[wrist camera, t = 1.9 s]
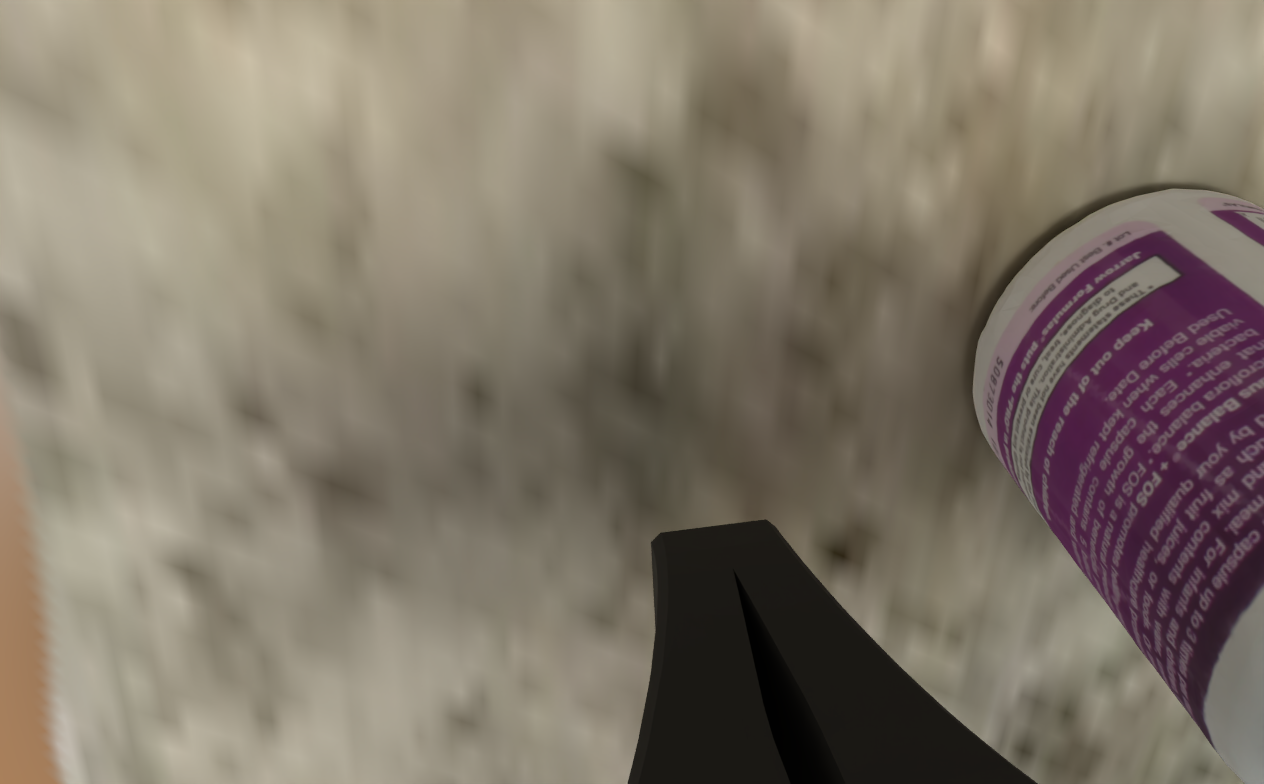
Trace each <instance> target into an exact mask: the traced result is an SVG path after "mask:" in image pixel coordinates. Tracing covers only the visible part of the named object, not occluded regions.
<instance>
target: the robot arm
mask: <svg viewBox="0 0 1264 784" xmlns="http://www.w3.org/2000/svg"><path fill="white" fill-rule="evenodd" d="M651 549H652V568H653V588H654V607H655V626H656V633H655V642H654V651H653V659H652V668H651V675H650V682H649V688H648V693H647V698H646V703H645V708H644V713H643V719H642V724H641V729H640V734H639V739H638V743H637V748H636V752H635V756H634V760H633V764H632V768H631V772H630V776H629V780H628V784H1038V783H1036V782H1035V781H1034V780H1032V779H1031V778H1030V777H1028V776H1027V775H1026V774H1024V773H1023V772H1022V771H1020V770H1019V769H1018V768H1016V767H1015V766H1014V765H1012V764H1011V763H1010V762H1009V761H1007V760H1006V759H1005V758H1004V757H1002V756H1001V755H1000V754H999V753H997V752H996V751H995V750H994V749H992V748H991V747H990V746H989V745H987V744H986V743H985V742H984V741H982V740H981V739H980V738H979V737H977V736H976V735H975V734H974V733H973V732H971V731H970V730H969V729H968V728H967V727H966V726H964V725H963V724H962V723H961V722H960V721H959V720H957V719H956V718H955V717H954V716H953V715H952V714H951V713H949V712H948V711H947V710H946V709H945V708H944V707H943V706H942V705H940V704H939V703H938V702H937V701H936V700H935V699H934V698H933V697H932V696H931V695H930V694H929V693H927V692H926V691H925V690H924V689H923V688H922V687H921V686H920V685H919V684H918V683H917V682H916V681H915V680H913V679H912V678H911V677H910V676H909V675H908V674H907V673H906V672H905V671H904V670H903V669H902V668H901V667H900V666H899V665H898V664H897V663H896V662H895V661H894V660H893V659H892V658H891V657H890V656H889V655H888V654H887V653H886V652H885V651H884V650H883V649H882V648H881V647H880V646H879V645H878V644H877V643H876V642H875V641H874V640H873V639H872V638H871V637H870V636H869V635H868V634H867V633H866V632H865V630H864V629H863V628H862V627H861V626H860V625H859V624H858V623H857V622H856V621H855V620H854V619H853V618H852V617H851V616H850V615H849V614H848V613H847V612H846V610H845V609H844V608H843V607H842V606H841V605H840V604H839V603H838V602H837V601H836V599H835V598H834V597H833V596H832V595H831V594H830V593H829V591H828V590H827V589H826V588H825V587H824V586H823V585H822V583H821V582H820V581H819V580H818V579H817V578H816V577H815V575H814V574H813V573H812V572H811V571H810V569H809V568H808V567H807V566H806V565H805V563H804V562H803V561H802V560H801V559H800V557H799V556H798V555H797V554H796V553H795V551H794V550H793V549H792V548H791V546H790V545H789V544H788V542H787V541H786V540H785V539H784V537H783V536H782V535H781V534H780V532H779V531H778V530H777V528H776V527H775V526H774V525H773V524H771V523H770V522H769V521H767V520H758V521H751V522H743V523H735V524H727V525H719V526H711V527H703V528H695V529H687V530H679V531H671V532H663V533H660V534H659V535H658V536H657V537H656V538H655V539H654V540H653V541H652V542H651Z"/></svg>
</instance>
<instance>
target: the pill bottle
mask: <svg viewBox="0 0 1264 784" xmlns="http://www.w3.org/2000/svg"><path fill="white" fill-rule="evenodd" d="M972 393H973V400H974V405H975V410H976V415H977V418H978V421H979V424H980V427H981V430H982V433H983V434H984V436H985V438H986V440H987V442H988V443H989V445H990V447H991V448H992V450H993V451H994V453H995V454H996V456H997V457H998V459H999V460H1000V462H1001V463H1002V465H1003V466H1004V467H1005V469H1006V470H1007V471H1008V473H1009V474H1010V475H1011V477H1012V478H1013V479H1014V481H1015V482H1016V484H1017V485H1018V487H1019V488H1020V489H1021V491H1022V492H1023V493H1024V494H1025V496H1026V497H1027V498H1028V500H1029V501H1030V502H1031V504H1032V505H1033V507H1034V508H1035V509H1036V511H1037V512H1038V513H1039V514H1040V516H1041V517H1042V518H1043V519H1044V521H1045V522H1046V523H1047V525H1048V526H1049V527H1050V529H1051V530H1052V531H1053V533H1054V534H1055V535H1056V536H1057V538H1058V539H1059V540H1060V542H1061V543H1062V545H1063V546H1064V547H1065V549H1066V550H1067V551H1068V553H1069V554H1070V555H1071V557H1072V558H1073V560H1074V561H1075V562H1076V564H1077V565H1078V566H1079V568H1080V569H1081V570H1082V572H1083V573H1084V574H1085V576H1086V577H1087V578H1088V579H1089V581H1090V582H1091V583H1092V585H1093V586H1094V587H1095V589H1096V590H1097V591H1098V593H1099V594H1100V595H1101V596H1102V598H1103V599H1104V600H1105V602H1106V603H1107V604H1108V606H1109V607H1110V609H1111V610H1112V611H1113V613H1114V614H1115V615H1116V617H1117V618H1118V619H1119V621H1120V622H1121V624H1122V625H1123V626H1124V628H1125V629H1126V630H1127V632H1128V633H1129V635H1130V636H1131V637H1132V638H1133V640H1134V641H1135V643H1136V644H1137V646H1138V647H1139V649H1140V650H1141V651H1142V653H1143V654H1144V655H1145V656H1146V658H1147V659H1148V660H1149V661H1150V663H1151V664H1152V665H1153V666H1154V668H1155V669H1156V670H1157V672H1158V673H1159V674H1160V676H1161V677H1162V678H1163V680H1164V681H1165V682H1166V684H1167V685H1168V687H1169V688H1170V689H1171V691H1172V692H1173V694H1174V695H1175V696H1176V697H1177V699H1178V700H1179V701H1180V703H1181V704H1182V705H1183V707H1184V708H1185V709H1186V711H1187V712H1188V713H1189V714H1190V716H1191V717H1192V718H1193V720H1194V721H1195V722H1196V724H1197V725H1198V726H1199V728H1200V729H1201V730H1202V732H1203V733H1204V735H1205V736H1206V738H1207V739H1208V741H1209V742H1210V744H1211V745H1212V746H1213V748H1214V749H1215V750H1216V752H1217V753H1218V754H1219V755H1220V757H1221V758H1222V759H1223V761H1224V762H1225V763H1226V764H1227V766H1228V767H1229V768H1230V769H1231V770H1232V771H1233V772H1234V773H1235V774H1236V775H1237V776H1238V777H1239V778H1240V779H1241V780H1242V781H1243V782H1244V783H1245V784H1264V209H1263V208H1261V207H1259V206H1257V205H1255V204H1253V203H1251V202H1249V201H1247V200H1243V199H1241V198H1238V197H1235V196H1232V195H1228V194H1224V193H1219V192H1214V191H1209V190H1193V189H1168V190H1163V191H1158V192H1153V193H1149V194H1144V195H1139V196H1135V197H1132V198H1129V199H1126V200H1123V201H1119V202H1116V203H1113V204H1110V205H1108V206H1106V207H1104V208H1102V209H1100V210H1098V211H1096V212H1094V213H1092V214H1090V215H1088V216H1087V217H1085V218H1084V219H1082V220H1081V221H1079V222H1078V223H1076V224H1075V225H1073V226H1071V227H1070V228H1068V229H1066V230H1065V231H1063V232H1062V233H1060V234H1059V235H1057V236H1056V237H1055V238H1053V239H1052V240H1051V241H1050V242H1048V243H1047V244H1046V245H1045V246H1044V247H1043V248H1042V249H1041V250H1040V251H1039V252H1038V253H1036V254H1035V255H1034V256H1033V257H1032V258H1031V259H1030V260H1029V261H1028V262H1027V264H1026V265H1025V266H1024V267H1023V268H1022V269H1021V270H1020V271H1019V272H1018V273H1017V275H1016V276H1015V277H1014V278H1013V280H1012V281H1011V282H1010V283H1009V285H1008V286H1007V287H1006V289H1005V291H1004V293H1003V294H1002V295H1001V297H1000V298H999V300H998V301H997V303H996V305H995V307H994V308H993V310H992V312H991V314H990V316H989V319H988V321H987V324H986V326H985V328H984V330H983V331H982V333H981V335H980V338H979V341H978V346H977V351H976V358H975V368H974V379H973V391H972Z"/></svg>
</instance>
